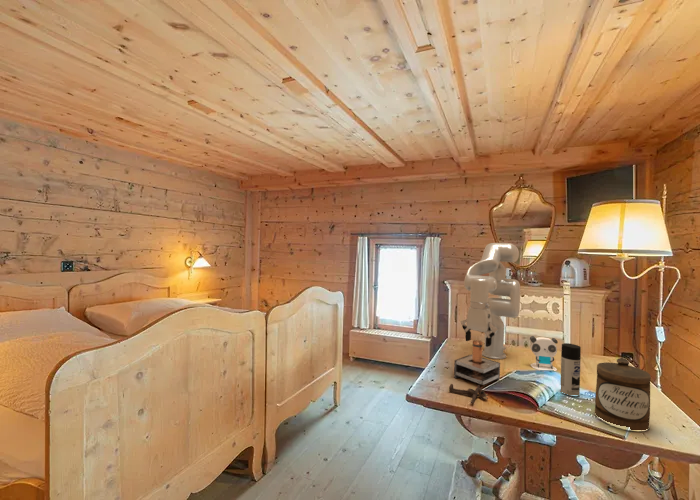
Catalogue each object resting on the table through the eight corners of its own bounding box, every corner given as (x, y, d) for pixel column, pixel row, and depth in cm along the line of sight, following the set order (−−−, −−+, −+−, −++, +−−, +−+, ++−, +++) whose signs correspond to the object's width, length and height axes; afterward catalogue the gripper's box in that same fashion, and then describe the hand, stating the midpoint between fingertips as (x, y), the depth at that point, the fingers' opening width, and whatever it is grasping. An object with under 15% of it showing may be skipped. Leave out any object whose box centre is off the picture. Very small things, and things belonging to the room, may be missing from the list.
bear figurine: (454, 376, 147) (490, 381, 140) (454, 386, 146) (490, 391, 140) (444, 392, 131) (484, 398, 124) (445, 403, 131) (485, 410, 124)
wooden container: (596, 423, 116) (599, 360, 115) (592, 406, 128) (595, 349, 128) (654, 438, 108) (657, 369, 107) (644, 418, 120) (646, 356, 120)
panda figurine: (531, 369, 165) (532, 339, 164) (527, 362, 176) (528, 333, 175) (559, 373, 161) (561, 342, 161) (553, 365, 172) (554, 336, 172)
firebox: (470, 370, 161) (471, 354, 161) (499, 380, 151) (500, 362, 150) (453, 377, 153) (454, 360, 152) (483, 388, 142) (483, 369, 142)
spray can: (573, 398, 134) (575, 348, 134) (556, 391, 140) (558, 344, 140) (582, 395, 138) (584, 346, 137) (565, 388, 144) (567, 342, 143)
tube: (474, 376, 155) (475, 339, 154) (483, 379, 151) (484, 341, 151) (469, 378, 152) (471, 341, 152) (478, 381, 149) (479, 343, 148)
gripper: (502, 307, 147) (500, 346, 147) (466, 301, 160) (465, 337, 161) (493, 310, 142) (492, 350, 143) (457, 303, 155) (456, 340, 156)
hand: (478, 343), depth 152 cm, fingers open, 9 cm apart
